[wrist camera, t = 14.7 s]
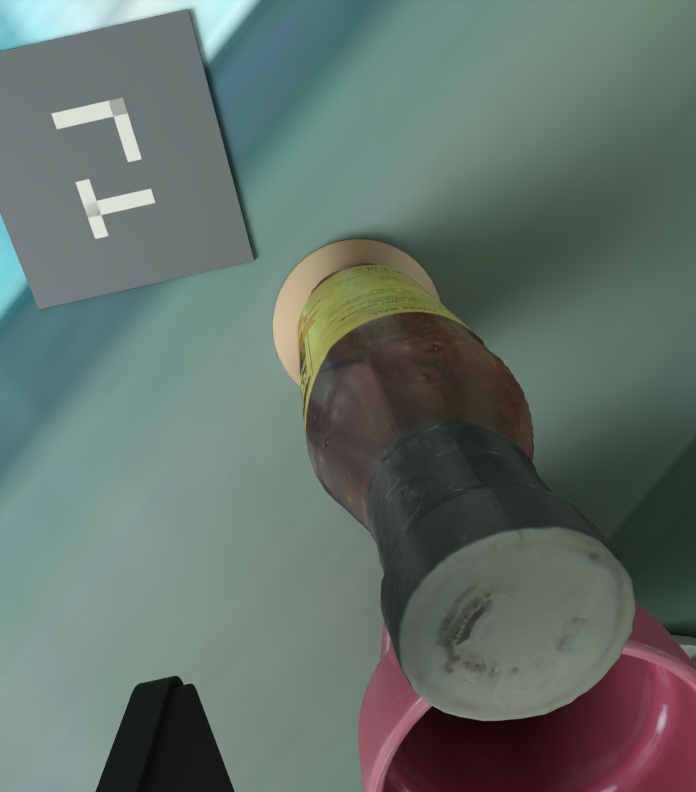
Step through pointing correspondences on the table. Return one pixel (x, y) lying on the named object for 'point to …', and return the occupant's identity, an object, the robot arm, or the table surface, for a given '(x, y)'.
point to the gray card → (115, 162)
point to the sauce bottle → (455, 503)
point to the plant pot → (542, 731)
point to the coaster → (319, 268)
